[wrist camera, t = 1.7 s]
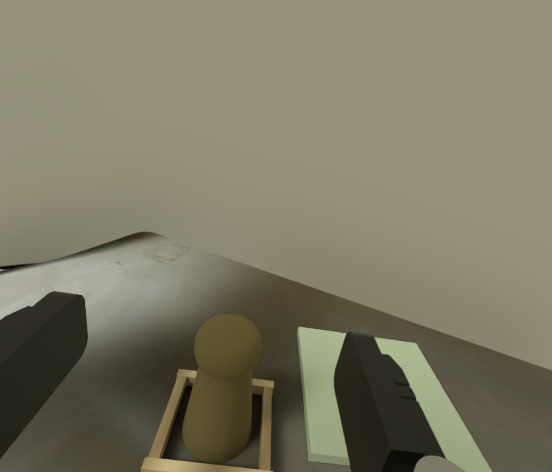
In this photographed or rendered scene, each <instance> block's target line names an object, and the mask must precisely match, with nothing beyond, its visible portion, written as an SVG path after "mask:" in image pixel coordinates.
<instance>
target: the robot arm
mask: <svg viewBox="0 0 552 472" xmlns="http://www.w3.org/2000/svg"><path fill="white" fill-rule="evenodd" d="M87 340H88V333H87V320H86V308H85V299H84V297H83V296H82V295H78V294H71V293H63V292H56V291H53V292H50V293H49V294H47V295H46V296H45V297H44V298H42V299H41V300H40V301H39V302H37V303H36V304H35V305H34V306H32V307H31V306H27V307H25V308H23V309H20V310H18V311H16V312H14V313H12V314H10V315H7V316H5V317H4V318H3V319H1V320H0V459H1V457H2V456H3V455H4V453H5V452H6V451H7V450H8V448H9V447H10V446H11V445H12V443H13V442H14V441H15V440H16V438H17V437H18V436H19V435H20V433H21V432H22V431H23V430H24V428H25V427H26V426H27V425H28V423H29V422H30V421H31V420H32V418H33V417H34V416H35V414H36V413H37V412H38V411H39V409H40V408H41V407H42V406H43V404H44V403H45V402H46V401H47V399H48V398H49V397H50V396H51V394H52V393H53V392H54V391H55V389H56V388H57V387H58V386H59V384H60V383H61V382H62V380H63V379H64V378H65V377H66V375H67V374H68V373H69V372H70V370H71V369H72V368H73V367H74V365H75V364H76V363H77V362H78V360H79V359H80V358H81V356H82V354H83V353H84V350H85V348H86V345H87ZM334 391H335V396H336V401H337V405H338V410H339V415H340V420H341V424H342V429H343V434H344V439H345V443H346V448H347V453H348V458H349V462H350V467H351V472H465V471H464V470H463V469H461V468H460V467H459V466H457V465H456V464H454V463H453V462H451V461H449V460H447V459H446V457H445V455H444V453H443V451H442V449H441V447H440V445H439V443H438V441H437V439H436V437H435V435H434V433H433V431H432V429H431V427H430V424H429V422H428V420H427V418H426V416H425V414H424V412H423V410H422V408H421V406H420V404H419V402H418V401H416V396H415V394H414V392H413V390H412V388H410V384H409V382H408V380H407V378H406V376H405V374H404V372H403V370H402V368H401V367H400V366H399V365H398V364H397V363H396V362H395V361H394V359H393V358H392V357H391V356H390V355H388V354H382V353H381V351H380V349H379V347H378V344H377V342H376V340H375V338H374V336H373V335H368V334H360V333H353V332H348V333H347V334H346V336H345V338H344V342H343V345H342V348H341V351H340V355H339V358H338V361H337V364H336V368H335V372H334Z"/></svg>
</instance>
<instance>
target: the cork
mask: <svg viewBox="0 0 552 472" xmlns="http://www.w3.org/2000/svg"><path fill="white" fill-rule="evenodd" d="M262 349H263V342H262V336H261V333H260V331H259V329H258V328H257V326H256V325H255V323H253V322H252V321H251V320H250V319H248V318H245V317H243V316H240V315H236V314H222V315H217V316H214V317H212V318H210V319H209V320H208V321H206V322H205V323H204V324H203V325H202V326H201V328H200V329H199V331H198V333H197V335H196V338H195V346H194V354H195V358H196V361H197V364H198V370H197V374H196V377H195V381H194V385H193V388H192V392H191V396H190V399H189V403H188V407H187V410H186V414H185V418H184V421H183V427H182V438H183V442H184V445H185V447H186V448H187V450H188V451H189V452H190V454H191V455H193V456H194V457H196V458H197V459H199V460H200V461H204V462H207V463H211V464H213V463H224V462H226V461H229V460H231V459H233V458H235V457H236V456H237V455H239V454H240V453H241V452H242V451H243V450H244V449H245V447H246V445H247V443H248V442H249V439H250V435H251V430H252V371H253V370H254V368H255V367H256V366H257V364H258V362H259V361H260V357H261V353H262Z"/></svg>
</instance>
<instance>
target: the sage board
mask: <svg viewBox="0 0 552 472" xmlns="http://www.w3.org/2000/svg"><path fill="white" fill-rule="evenodd" d="M297 336H298V348H299V359H300V370H301V382H302V393H303V404H304V415H305V427H306V438H307V449H308V461H313V462H321V463H330V464H339V465H347V466H350V462H349V458H348V453H347V448H346V443H345V439H344V434H343V429H342V424H341V420H340V415H339V410H338V405H337V401H336V396H335V391H334V372H335V368H336V364H337V361H338V358H339V355H340V351H341V348H342V345H343V342H344V338H345V336H346V333H339V332H332V331H325V330H318V329H311V328H304V327H298V331H297ZM374 338H375V337H374ZM375 340H376V342H377V344H378V347H379V349H380V351H381V353H382V354H388V355H390V356H391V357H392V358H393V359H394V361H395V362H396V363H397V364H398V365H399V366H400V367H401V368H402V370H403V372H404V374H405V376H406V378H407V380H408V382H409V384H410V388H412V390H413V392H414V394H415V396H416V401H418V402H419V404H420V406H421V408H422V410H423V412H424V414H425V416H426V418H427V420H428V422H429V424H430V427H431V429H432V431H433V433H434V435H435V437H436V439H437V441H438V443H439V445H440V447H441V449H442V451H443V453H444V455H445V457H446V459H447V460H449V461H451V462H453V463H454V464H456V465H457V466H459V467H460V468H461V469H463V470H464V471H465V472H492V470H491V468H490V467H489V465H488V463H487V462H486V460H485V458H484V457H483V455H482V453H481V452H480V450H479V448H478V447H477V445H476V443H475V442H474V440H473V438H472V437H471V435H470V433H469V431H468V430H467V428H466V426H465V425H464V423H463V421H462V420H461V418H460V416H459V415H458V413H457V411H456V410H455V408H454V406H453V405H452V403H451V401H450V400H449V398H448V396H447V394H446V393H445V391H444V389H443V388H442V386H441V384H440V383H439V381H438V379H437V378H436V376H435V374H434V373H433V371H432V369H431V368H430V366H429V364H428V363H427V361H426V359H425V358H424V356H423V354H422V352H421V351H420V349H419V347H418V346H417V344H416V343H410V342H403V341H396V340H389V339H382V338H375Z"/></svg>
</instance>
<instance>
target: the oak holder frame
mask: <svg viewBox="0 0 552 472" xmlns="http://www.w3.org/2000/svg"><path fill="white" fill-rule="evenodd" d="M196 374H197V371H192V370H184V369H179V370H178V373H177V375H176V384H175V386H174V389H173V392H172V394H171V397H170V400H169V402H168V405H167V408H166V411H165V413H164V416H163V419H162V421H161V424H160V427H159V429H158V432H157V435H156V437H155V440H154V443H153V445H152V448H151V451H150V453H149V456H148V457H145V459H144V462H143V464H142V467H141V472H273V471H270V459H271V409H272V394H273V390H274V381H269V380H261V379H253V378H252V394H256V395H262V407H261V425H260V444H259V462H258V469H249V468H240V467H231V466H222V465H213V464H204V463H195V462H186V461H178V460H169V459H162V457H163V454H164V451H165V448H166V445H167V442H168V439H169V436H170V433H171V430H172V427H173V424H174V421H175V417H176V414H177V411H178V408H179V405H180V402H181V399H182V396H183V393H184V390H185V387H186V386H193V385H194V381H195V377H196Z"/></svg>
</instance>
